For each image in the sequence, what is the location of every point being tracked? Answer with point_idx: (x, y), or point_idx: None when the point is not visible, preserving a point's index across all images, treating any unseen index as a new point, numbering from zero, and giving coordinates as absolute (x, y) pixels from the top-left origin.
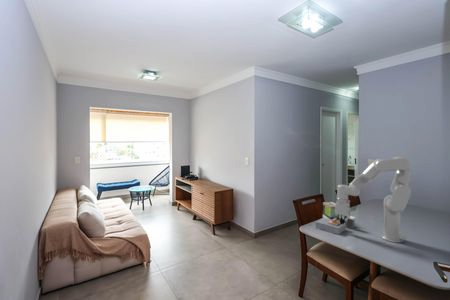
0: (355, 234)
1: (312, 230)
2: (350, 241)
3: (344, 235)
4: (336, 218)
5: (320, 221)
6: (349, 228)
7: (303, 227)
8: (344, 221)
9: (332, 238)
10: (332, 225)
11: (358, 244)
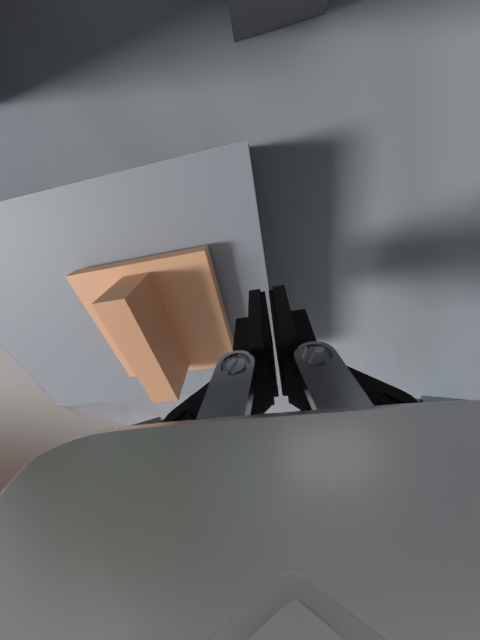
0: (402, 203)
1: (131, 405)
2: (390, 375)
3: (318, 320)
4: (128, 308)
5: (57, 372)
6: (269, 29)
7: (68, 408)
8: (309, 327)
9: (281, 411)
10: (200, 373)
11: (450, 376)
